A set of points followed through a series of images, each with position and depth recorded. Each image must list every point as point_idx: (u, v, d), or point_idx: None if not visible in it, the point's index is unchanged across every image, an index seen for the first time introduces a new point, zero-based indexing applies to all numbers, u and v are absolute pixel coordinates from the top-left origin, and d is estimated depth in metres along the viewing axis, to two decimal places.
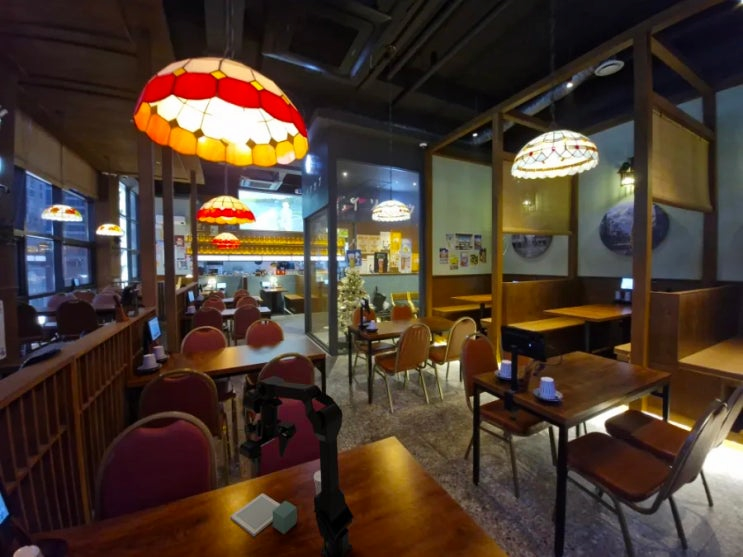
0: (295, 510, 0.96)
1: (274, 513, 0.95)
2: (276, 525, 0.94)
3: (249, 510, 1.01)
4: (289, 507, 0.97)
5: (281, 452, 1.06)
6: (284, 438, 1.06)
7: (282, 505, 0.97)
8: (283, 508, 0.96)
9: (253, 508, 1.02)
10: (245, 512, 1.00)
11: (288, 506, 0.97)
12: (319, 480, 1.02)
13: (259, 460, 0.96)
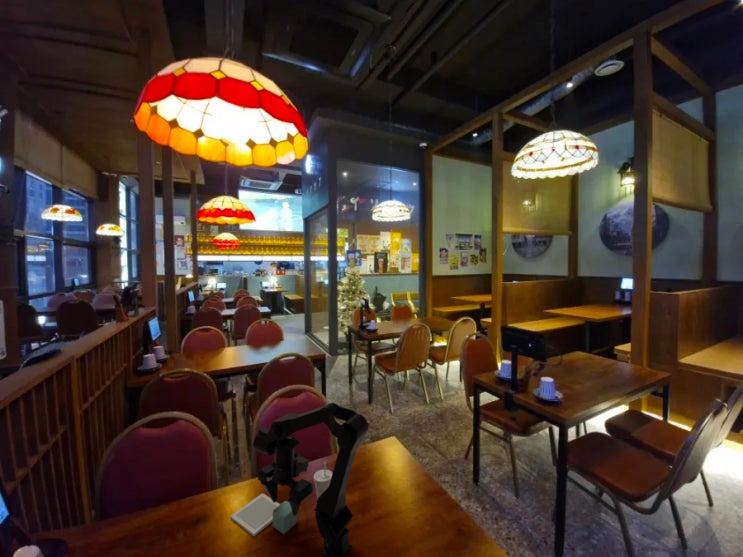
0: None
1: (274, 513, 0.95)
2: (276, 525, 0.94)
3: (249, 510, 1.01)
4: (289, 507, 0.97)
5: None
6: None
7: (282, 505, 0.97)
8: (283, 508, 0.96)
9: (253, 508, 1.02)
10: (245, 512, 1.00)
11: (288, 506, 0.97)
12: (319, 480, 1.02)
13: (266, 490, 0.97)
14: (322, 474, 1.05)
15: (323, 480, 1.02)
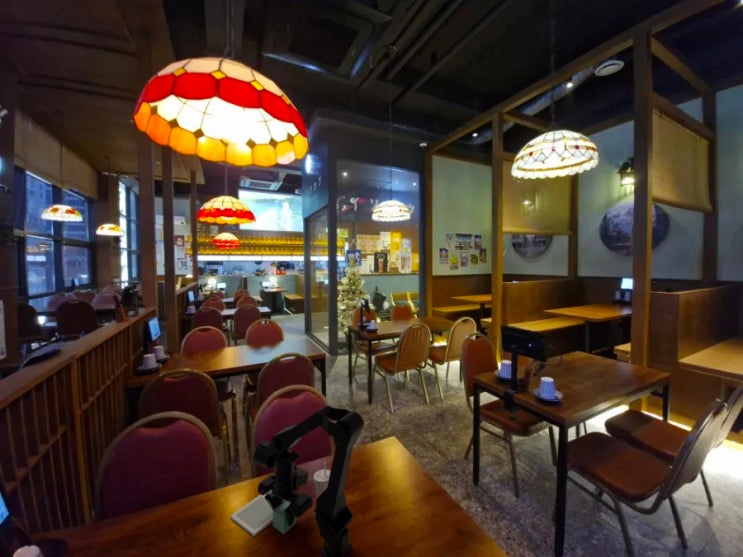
0: None
1: (274, 513, 0.95)
2: (276, 524, 0.94)
3: (249, 510, 1.01)
4: None
5: None
6: None
7: (282, 505, 0.97)
8: (283, 508, 0.96)
9: (253, 508, 1.02)
10: (245, 512, 1.00)
11: (288, 505, 0.97)
12: (319, 480, 1.02)
13: (270, 505, 0.96)
14: (322, 474, 1.05)
15: (323, 480, 1.02)
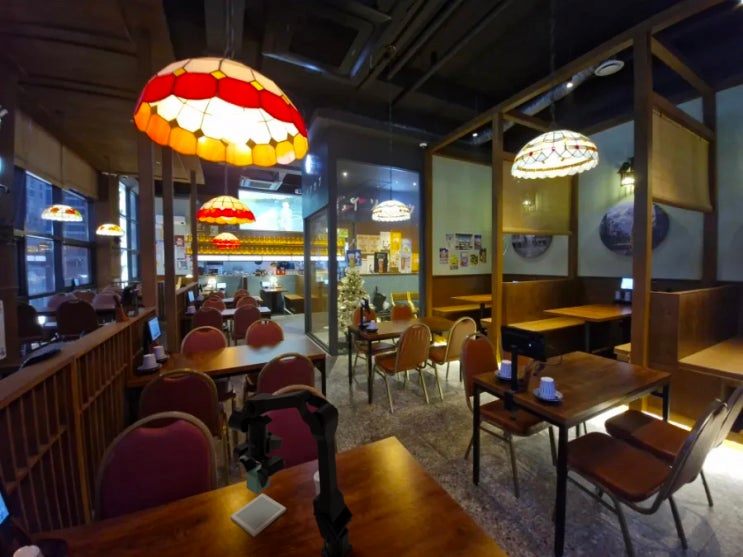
0: None
1: (248, 475, 0.98)
2: (250, 486, 0.98)
3: (249, 510, 1.01)
4: None
5: None
6: None
7: (256, 468, 1.01)
8: (256, 470, 1.00)
9: (253, 508, 1.02)
10: (245, 512, 1.00)
11: None
12: None
13: (244, 468, 1.00)
14: None
15: None
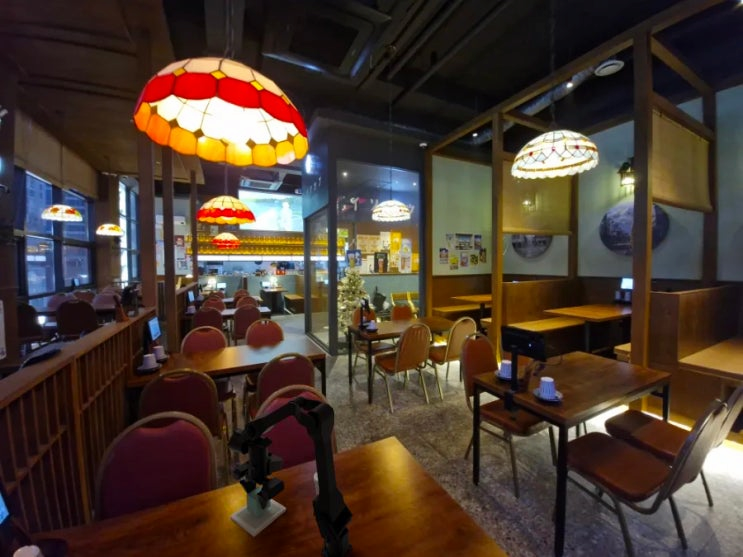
0: None
1: (248, 497, 0.99)
2: (250, 508, 0.98)
3: None
4: None
5: None
6: None
7: (256, 489, 1.01)
8: (257, 492, 1.00)
9: None
10: (245, 512, 1.00)
11: None
12: None
13: (245, 490, 1.00)
14: None
15: None
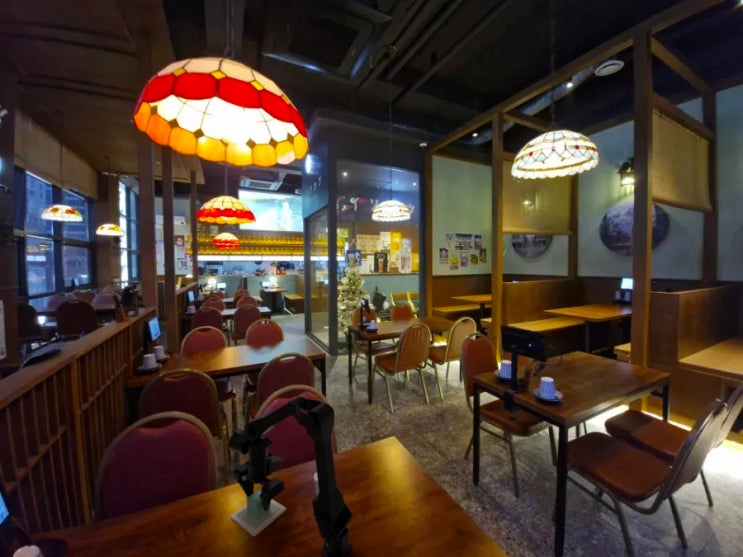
0: None
1: (248, 500, 0.99)
2: (250, 511, 0.98)
3: None
4: None
5: None
6: None
7: (256, 493, 1.01)
8: (257, 495, 1.00)
9: None
10: (245, 512, 1.00)
11: None
12: None
13: (242, 488, 1.01)
14: None
15: None
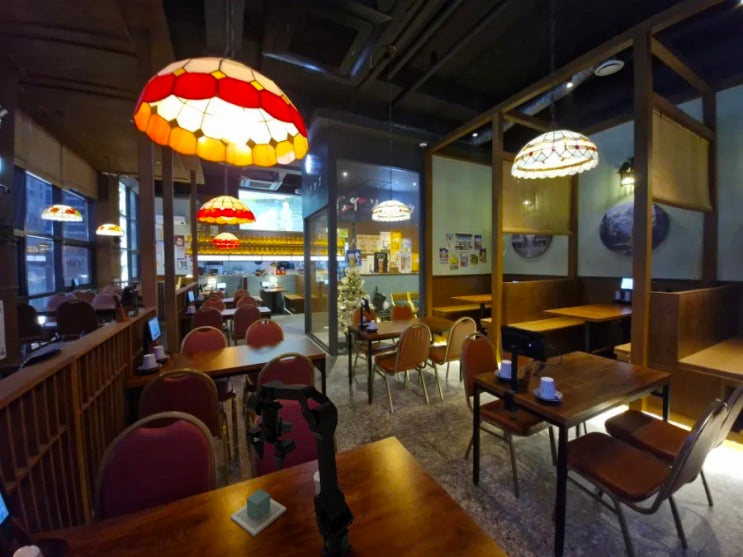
0: (269, 497, 1.00)
1: (248, 500, 0.99)
2: (250, 511, 0.98)
3: None
4: (263, 495, 1.00)
5: None
6: None
7: (256, 493, 1.01)
8: (257, 495, 1.00)
9: None
10: (245, 512, 1.00)
11: (262, 493, 1.01)
12: (319, 480, 1.02)
13: (254, 449, 1.07)
14: None
15: None
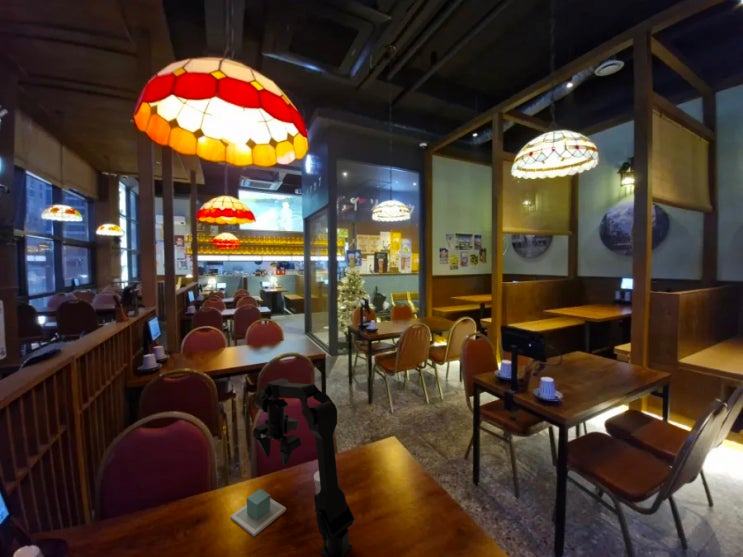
0: (269, 497, 1.00)
1: (248, 500, 0.99)
2: (250, 511, 0.98)
3: None
4: (263, 495, 1.00)
5: None
6: None
7: (256, 493, 1.01)
8: (257, 495, 1.00)
9: None
10: (245, 512, 1.00)
11: (262, 493, 1.01)
12: (319, 480, 1.02)
13: (260, 445, 1.09)
14: None
15: None
